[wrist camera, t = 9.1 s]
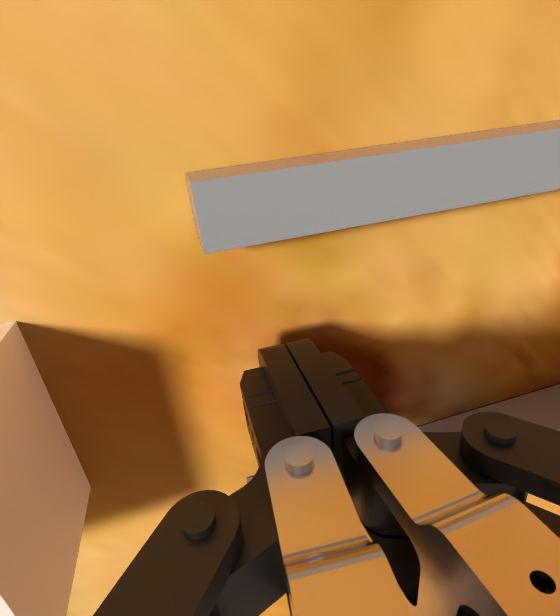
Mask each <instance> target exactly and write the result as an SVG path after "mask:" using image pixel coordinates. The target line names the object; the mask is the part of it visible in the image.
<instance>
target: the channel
mask: <svg viewBox="0 0 560 616" xmlns="http://www.w3.org/2000/svg"><path fill="white" fill-rule="evenodd" d="M185 177H186V182H187V187H188V192H189V197H190V202H191V207H192V212H193V217H194V222H195V227H196V232H197V235H198V238H199V240H200V243H201V246H202V249H203V251H204V254H209V253H214V252H220V251H225V250H231V249H236V248H242V247H247V246H252V245H258V244H263V243H269V242H274V241H280V240H285V239H291V238H296V237H302V236H307V235H312V234H318V233H323V232H329V231H334V230H340V229H345V228H351V227H356V226H362V225H367V224H372V223H378V222H383V221H389V220H394V219H400V218H405V217H411V216H416V215H422V214H427V213H432V212H438V211H443V210H449V209H454V208H460V207H465V206H471V205H476V204H482V203H487V202H492V201H498V200H503V199H509V198H514V197H520V196H525V195H531V194H536V193H542V192H547V191H552V190H558V189H560V120H556V121H549V122H542V123H535V124H527V125H520V126H513V127H506V128H499V129H492V130H485V131H478V132H471V133H464V134H457V135H450V136H443V137H436V138H428V139H421V140H414V141H407V142H400V143H393V144H386V145H379V146H372V147H365V148H358V149H351V150H344V151H337V152H330V153H322V154H315V155H308V156H301V157H294V158H287V159H280V160H273V161H266V162H259V163H252V164H245V165H238V166H231V167H223V168H216V169H209V170H202V171H195V172H188V173H185ZM478 412H497V413H502V414H506V415H509V416H512V417H515V418H519V419H522V420H525V421H528V422H532V423H535V424H538V425H541V426H545V427H548V428H551V429H554V430H557V431H560V384H558V385H555V386H551V387H548V388H545V389H541V390H538V391H535V392H531V393H528V394H525V395H521V396H518V397H515V398H511V399H508V400H505V401H501V402H498V403H495V404H492V405H488V406H485V407H482V408H478V409H475V410H472V411H468V412H465V413H462V414H458V415H455V416H452V417H448V418H445V419H442V420H438V421H435V422H432V423H428V424H425V425H422V426H419V427H418V428H419V429H420V430H421V431H423V432H461V429H462V424H463V422H464V420H465V419H466V418H467V417H468V416H470V415H472V414H475V413H478ZM253 477H254V476H253ZM253 477H249V478H246V480H247V483H248V482H249V481H251V479H252V478H253Z"/></svg>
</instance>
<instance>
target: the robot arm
mask: <svg viewBox="0 0 560 616" xmlns="http://www.w3.org/2000/svg"><path fill="white" fill-rule="evenodd" d="M258 359H259V366H260V367H259V368H255V369H250V370H246V371H244V373H243V376H242V379H241V382H240V387H241V393H242V399H243V404H244V410H245V416H246V422H247V427H248V431H249V434H250V438H251V441H252V445H253V448H254V452H255V456H256V459H257V463H258V466H259V469H258V471H257V473H256V474H255V476H254V477H253V478H252V479H251V481H249V482H248V483H247V484H246V485H245V486H244V487H242V488H241V489H239V490H238V491H236V492H234V493H233V494H231V495H230V496H228V495H226V494H224V493H222V492H219V491H215V490H204V491H199V492H195V493H192V494H190V495H188V496H186V497H184V498H182V499H181V500H180V501H178V502H177V503H176V504H175V505H174V506H173V507H172V508H171V509H170V510H169V511H168V512H167V514H166V515H165V517H164V518H163V519H162V521H161V522H160V523H159V525H158V526H157V528H156V529H155V530H154V532H153V533H152V535H151V536H150V537H149V539H148V540H147V541H146V543H145V544H144V546H143V547H142V548H141V550H140V551H139V553H138V554H137V555H136V557H135V558H134V559H133V561H132V562H131V564H130V565H129V566H128V568H127V569H126V571H125V572H124V573H123V575H122V576H121V577H120V579H119V580H118V582H117V583H116V584H115V586H114V587H113V589H112V590H111V591H110V593H109V594H108V595H107V597H106V598H105V600H104V601H103V602H102V604H101V605H100V607H99V608H98V609H97V611H96V612H95V613H94V615H93V616H259V615H260V614H261V613H262V612H264V611H265V610H266V609H267V608H268V607H270V606H271V605H272V604H273V603H274V602H276V601H277V600H278V599H279V598H280V597H282V596H283V595H284V594H285V593H286V597H287V603H288V608H289V613H290V616H560V516H559V515H557V514H554V513H552V512H549V511H547V510H544V509H542V508H539V507H537V506H535V505H532V504H530V503H527V502H526V499H527V495H528V493H529V494H532V495H534V496H537V497H539V498H542V499H544V500H547V501H549V502H552V503H554V504H557V505H560V431H557V430H554V429H551V428H548V427H545V426H541V425H538V424H535V423H532V422H528V421H525V420H522V419H519V418H515V417H512V416H509V415H506V414H502V413H497V412H478V413H475V414H472V415H470V416H468V417H467V418H466V419H465V420H464V422H463V424H462V429H461V432H423V431H421V430H420V429H419V428H418V427H417V426H416V425H415V424H413V423H412V422H411V421H409V420H408V419H406V418H404V417H401V416H398V415H394V414H389V413H388V411H387V410H386V409H385V408H384V406H383V405H382V404H381V403H380V401H379V400H378V399H377V398H376V396H375V395H374V394H373V392H372V391H371V390H370V389H369V387H368V386H367V385H366V384H365V382H364V381H362V380H361V377H360V376H359V375H358V373H357V372H356V371H354V368H353V367H352V366H351V365H350V363H349V362H348V361H347V360H346V358H344V357H342V356H340V355H339V354H337V353H335V352H333V351H327V352H323V353H320V351H319V350H318V348H317V347H316V345H315V344H314V343H313V341H312V340H311V339H310V338H306V339H302V340H297V341H293V342H288V343H285V344H280V345H275V346H271V347H266V348H262V349H258Z"/></svg>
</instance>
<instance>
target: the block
mask: <svg viewBox="0 0 560 616" xmlns="http://www.w3.org/2000/svg"><path fill="white" fill-rule="evenodd" d="M90 489H91V486H90V484H89V482H88V479H87V477H86V475H85V473H84V470H83V468H82V466H81V464H80V462H79V459H78V457H77V455H76V453H75V451H74V448H73V446H72V444H71V442H70V439H69V437H68V435H67V433H66V431H65V428H64V426H63V424H62V422H61V420H60V417H59V415H58V413H57V411H56V409H55V406H54V404H53V402H52V400H51V397H50V395H49V393H48V391H47V389H46V386H45V384H44V382H43V380H42V378H41V375H40V373H39V371H38V369H37V366H36V364H35V362H34V360H33V358H32V355H31V353H30V351H29V349H28V347H27V344H26V342H25V340H24V338H23V336H22V333H21V331H20V329H19V327H18V324H17V322H16V321H14V322H9V323H4V324H0V616H66V614H67V609H68V603H69V598H70V593H71V588H72V583H73V577H74V572H75V567H76V562H77V557H78V552H79V546H80V541H81V536H82V531H83V526H84V520H85V515H86V510H87V505H88V500H89V494H90Z"/></svg>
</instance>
